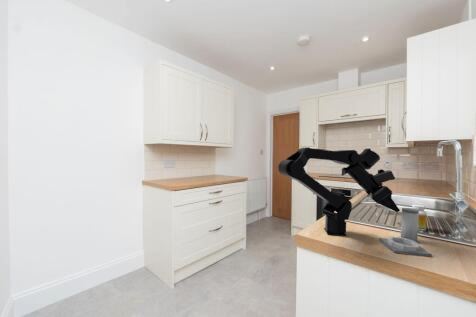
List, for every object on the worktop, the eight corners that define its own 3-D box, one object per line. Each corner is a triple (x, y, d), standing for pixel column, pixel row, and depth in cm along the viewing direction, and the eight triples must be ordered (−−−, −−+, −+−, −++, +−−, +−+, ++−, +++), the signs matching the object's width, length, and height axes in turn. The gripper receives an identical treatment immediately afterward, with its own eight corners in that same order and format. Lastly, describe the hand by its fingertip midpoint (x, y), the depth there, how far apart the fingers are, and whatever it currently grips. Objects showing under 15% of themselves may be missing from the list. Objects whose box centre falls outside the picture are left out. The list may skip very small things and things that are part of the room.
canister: (405, 241, 73) (406, 210, 73) (397, 236, 78) (399, 207, 78) (420, 243, 72) (422, 211, 72) (412, 237, 77) (413, 208, 77)
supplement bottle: (429, 231, 84) (430, 207, 84) (414, 230, 85) (415, 206, 85) (420, 226, 89) (421, 204, 89) (406, 225, 90) (407, 203, 90)
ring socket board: (394, 252, 64) (394, 246, 64) (378, 239, 74) (379, 234, 74) (431, 256, 62) (431, 250, 62) (410, 242, 72) (411, 237, 72)
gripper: (385, 163, 70) (425, 199, 66) (374, 161, 87) (406, 190, 83) (357, 184, 74) (394, 220, 69) (352, 179, 91) (382, 207, 86)
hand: (394, 208), depth 77 cm, fingers open, 9 cm apart
